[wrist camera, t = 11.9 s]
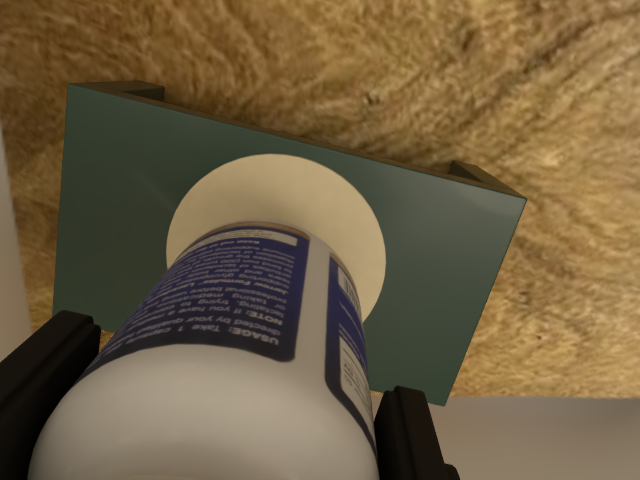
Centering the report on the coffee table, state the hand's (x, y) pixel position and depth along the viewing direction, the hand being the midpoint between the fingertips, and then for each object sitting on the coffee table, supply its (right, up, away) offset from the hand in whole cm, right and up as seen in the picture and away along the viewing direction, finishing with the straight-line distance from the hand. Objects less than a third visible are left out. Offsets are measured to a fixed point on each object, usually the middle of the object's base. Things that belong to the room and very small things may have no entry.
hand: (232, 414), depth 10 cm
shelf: (0, +5, +14) cm, 15 cm away
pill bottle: (0, +2, +5) cm, 5 cm away
